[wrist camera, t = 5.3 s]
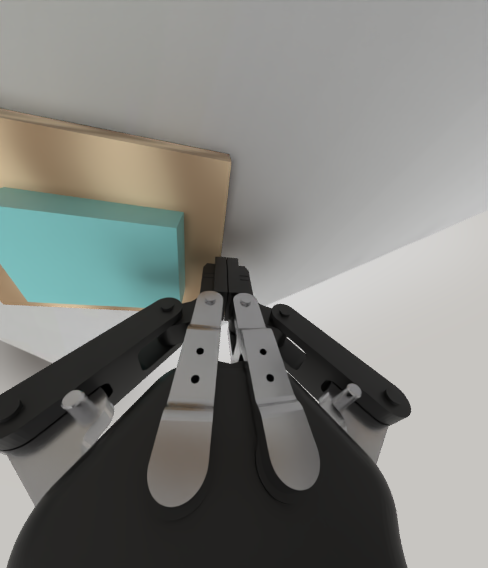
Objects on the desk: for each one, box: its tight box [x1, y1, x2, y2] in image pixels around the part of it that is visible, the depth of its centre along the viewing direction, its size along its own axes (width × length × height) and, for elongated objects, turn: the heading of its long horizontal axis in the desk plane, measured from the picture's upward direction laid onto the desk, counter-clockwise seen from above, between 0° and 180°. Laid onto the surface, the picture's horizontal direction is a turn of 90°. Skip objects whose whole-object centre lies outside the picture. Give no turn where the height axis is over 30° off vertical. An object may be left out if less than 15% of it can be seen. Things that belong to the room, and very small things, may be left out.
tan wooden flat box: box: [0, 108, 231, 311], centre depth 14 cm, size 16×12×4 cm
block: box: [0, 187, 185, 308], centre depth 12 cm, size 9×6×2 cm, turn 80°
